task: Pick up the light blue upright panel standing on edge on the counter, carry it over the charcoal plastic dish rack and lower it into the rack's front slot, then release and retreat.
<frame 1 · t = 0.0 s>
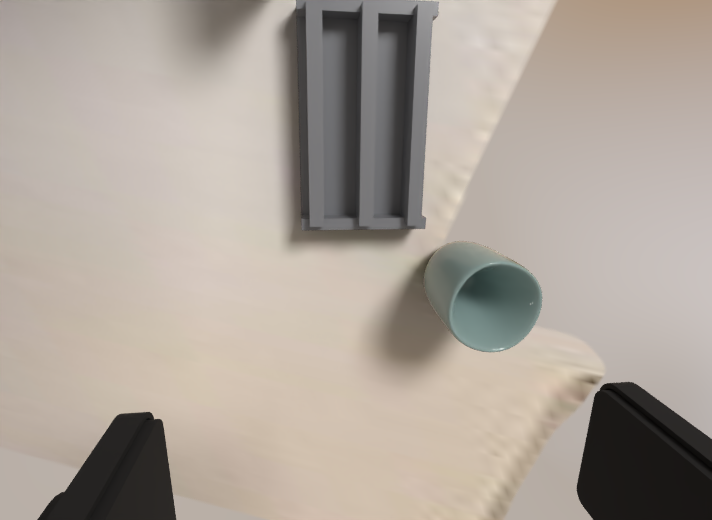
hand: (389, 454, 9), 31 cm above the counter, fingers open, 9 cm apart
cup: (451, 270, 42), on the counter
rack: (361, 123, 37), on the counter
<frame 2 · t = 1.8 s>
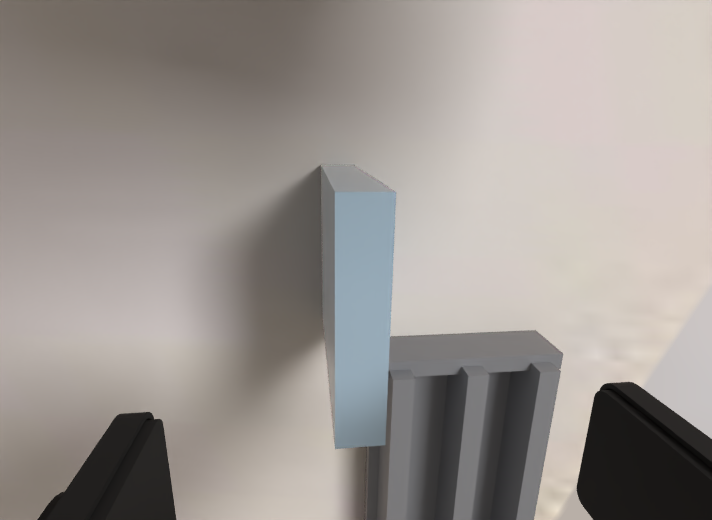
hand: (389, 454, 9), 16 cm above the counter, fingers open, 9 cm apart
light blue upright panel: (337, 244, 24), on the counter
rack: (443, 449, 29), on the counter
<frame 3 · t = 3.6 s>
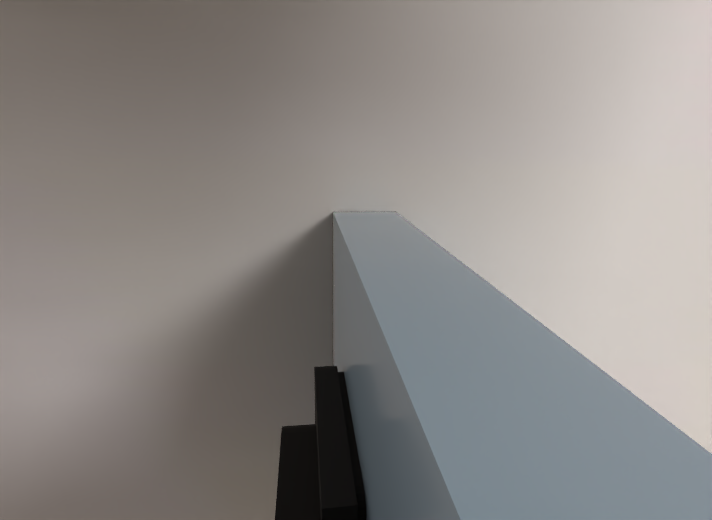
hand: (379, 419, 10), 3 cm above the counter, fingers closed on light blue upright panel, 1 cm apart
light blue upright panel: (362, 354, 13), on the counter, touching gripper
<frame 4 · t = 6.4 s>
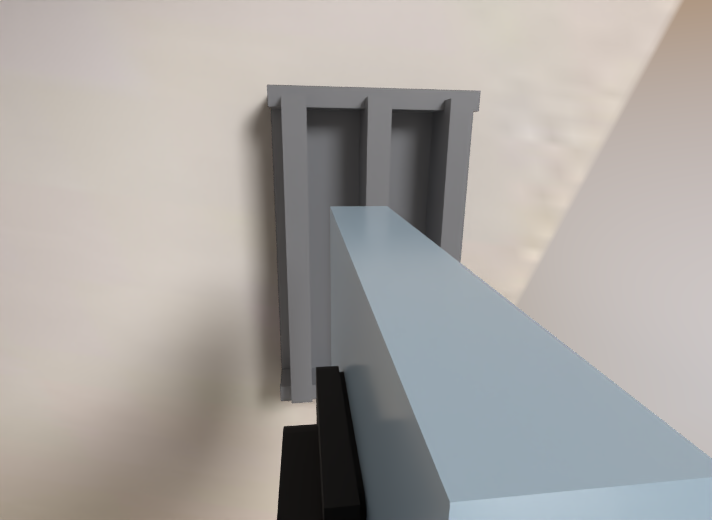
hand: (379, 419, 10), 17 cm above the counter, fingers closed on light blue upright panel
light blue upright panel: (357, 337, 14), point 13 cm above the counter, touching gripper
rack: (365, 245, 26), on the counter
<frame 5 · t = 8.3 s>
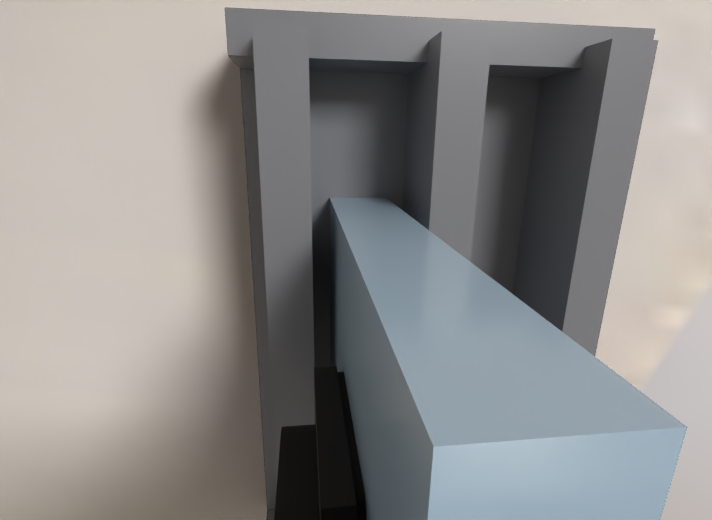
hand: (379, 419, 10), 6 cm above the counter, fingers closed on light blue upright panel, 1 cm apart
light blue upright panel: (355, 325, 14), point 1 cm above the counter, touching gripper, rack
rack: (407, 307, 16), on the counter
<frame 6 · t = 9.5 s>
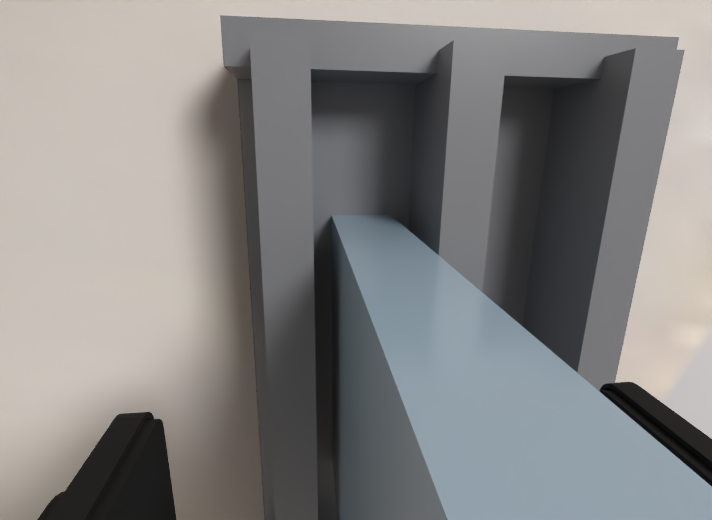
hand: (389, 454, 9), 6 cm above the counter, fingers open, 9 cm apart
light blue upright panel: (359, 348, 14), point 1 cm above the counter, touching rack
rack: (413, 327, 15), on the counter
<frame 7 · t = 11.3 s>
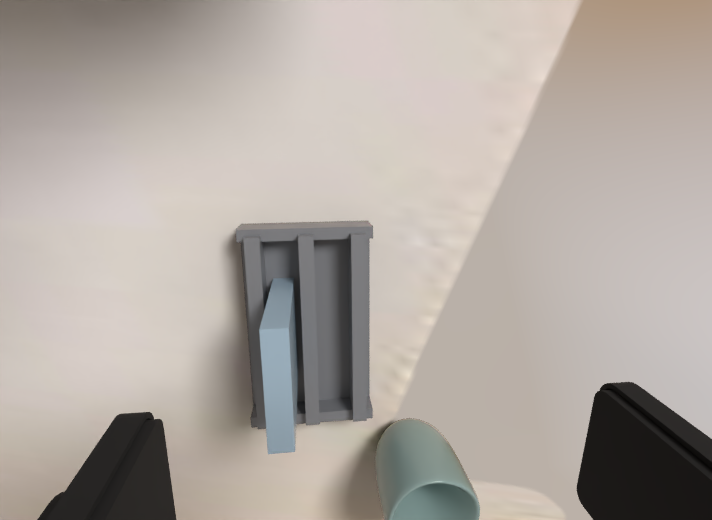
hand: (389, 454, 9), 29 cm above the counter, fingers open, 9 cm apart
light blue upright panel: (286, 325, 37), point 1 cm above the counter, touching rack
cup: (405, 437, 43), on the counter
rack: (309, 318, 38), on the counter
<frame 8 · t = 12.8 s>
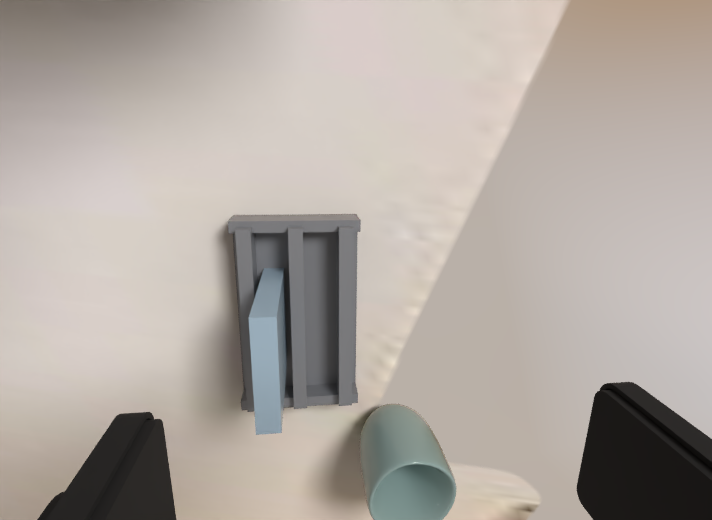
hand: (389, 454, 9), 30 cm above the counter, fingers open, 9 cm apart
light blue upright panel: (276, 314, 39), point 1 cm above the counter, touching rack
cup: (389, 422, 45), on the counter
rack: (298, 307, 40), on the counter
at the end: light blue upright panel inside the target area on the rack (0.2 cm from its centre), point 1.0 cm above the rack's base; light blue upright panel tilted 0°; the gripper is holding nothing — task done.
